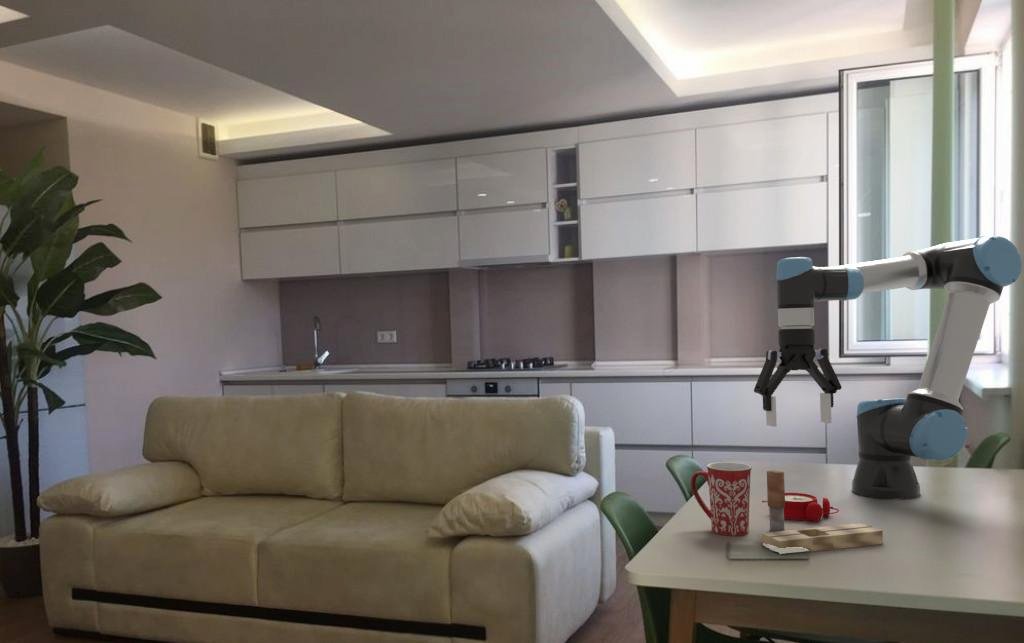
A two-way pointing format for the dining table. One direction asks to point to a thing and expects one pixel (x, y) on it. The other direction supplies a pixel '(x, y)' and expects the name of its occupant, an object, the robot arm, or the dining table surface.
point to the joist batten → (826, 537)
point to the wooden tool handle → (776, 499)
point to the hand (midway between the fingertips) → (799, 424)
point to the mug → (726, 497)
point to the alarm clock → (805, 507)
